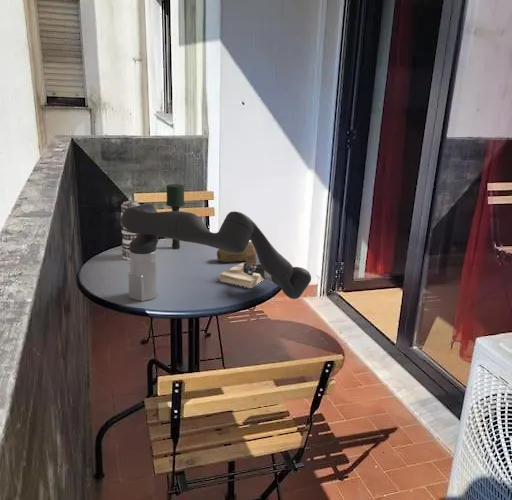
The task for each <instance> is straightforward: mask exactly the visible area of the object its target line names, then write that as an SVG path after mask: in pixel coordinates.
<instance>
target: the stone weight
mask: <svg viewBox="0 0 512 500" xmlns="http://www.w3.org/2000/svg"><path fill="white" fill-rule="evenodd" d="M216 257H217V260H218V262H222V263H233V262H234V263H235V262H236V263H237V262H246V248H245V250H244V251H243V252H241V253H232V252H228V251H224V250H221V249H217V251H216Z"/></svg>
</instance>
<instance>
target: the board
mask: <svg viewBox="0 0 512 500" xmlns="http://www.w3.org/2000/svg"><path fill="white" fill-rule="evenodd" d="M244 263H245V262H241V263H239V264H237V265H234V266H233V267H230V268H229V269H227V270H224V271H223V272H221V273H220V274H219V282H222V283H227V284H231V285H234V284H235V286H238V285H239V287H242V286H244V287H243V288H246V287H247V288H246V289H250V288H251V289H252V288H254V287H256V286H257V285H259V284H261V283H262V282H264V281H265V280H264V279H263V278H262V277H261V275H260V274H258V273H253V275H248V274H246V273H244V270H243V266H244ZM256 267H257V266H255V268H256ZM263 280H264V281H263ZM261 281H262V282H261ZM260 282H261V283H260ZM258 283H259V284H258ZM255 285H256V286H255ZM253 286H254V287H253Z"/></svg>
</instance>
